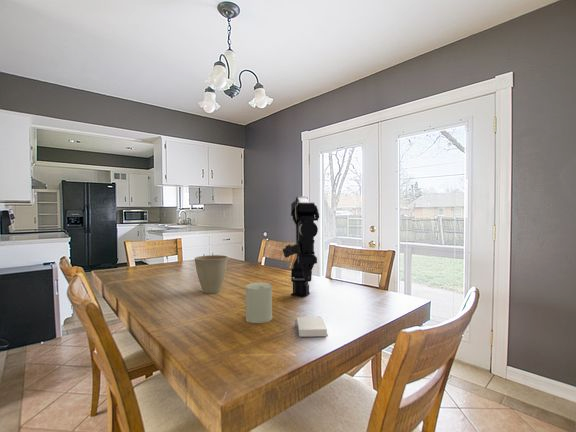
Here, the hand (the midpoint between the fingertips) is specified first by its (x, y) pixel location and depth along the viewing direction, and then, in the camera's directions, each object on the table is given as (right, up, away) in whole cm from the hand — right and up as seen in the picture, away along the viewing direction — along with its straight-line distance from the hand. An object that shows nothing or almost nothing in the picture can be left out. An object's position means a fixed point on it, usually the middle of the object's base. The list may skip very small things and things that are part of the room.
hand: (306, 280), depth 105 cm
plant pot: (-42, -12, +30) cm, 53 cm away
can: (-16, -13, -5) cm, 21 cm away
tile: (0, -11, -10) cm, 15 cm away
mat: (0, -12, -13) cm, 18 cm away
